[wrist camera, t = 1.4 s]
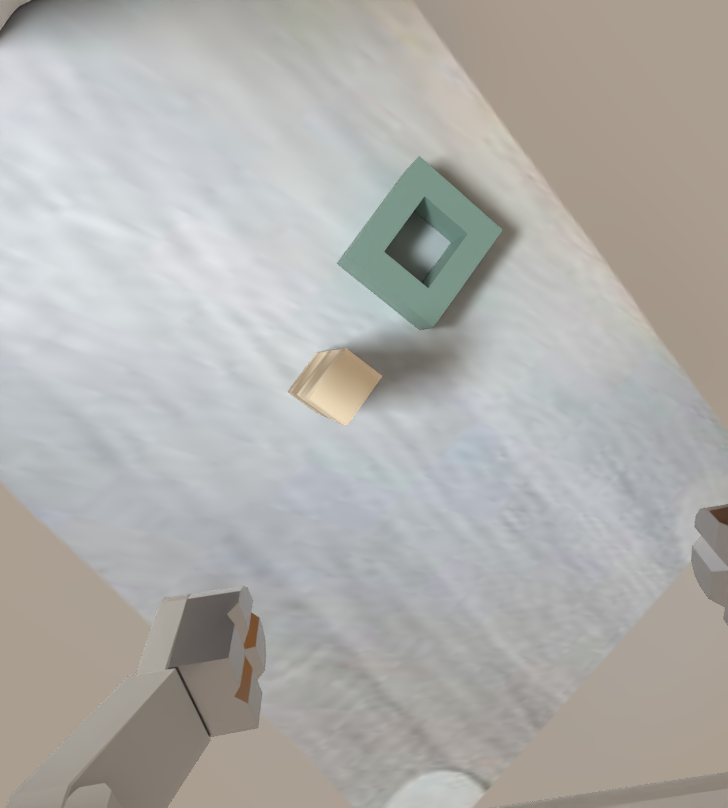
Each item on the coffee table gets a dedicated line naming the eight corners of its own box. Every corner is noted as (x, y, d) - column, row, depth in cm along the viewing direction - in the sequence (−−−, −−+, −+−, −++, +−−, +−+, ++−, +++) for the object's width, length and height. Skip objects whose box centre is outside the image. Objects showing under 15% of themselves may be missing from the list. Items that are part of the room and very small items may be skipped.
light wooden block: (316, 412, 50) (346, 426, 39) (287, 391, 50) (309, 398, 38) (344, 374, 51) (382, 376, 39) (316, 352, 50) (346, 348, 38)
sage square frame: (419, 329, 52) (433, 327, 49) (336, 263, 50) (345, 255, 47) (484, 238, 53) (502, 230, 50) (406, 170, 51) (419, 156, 48)
